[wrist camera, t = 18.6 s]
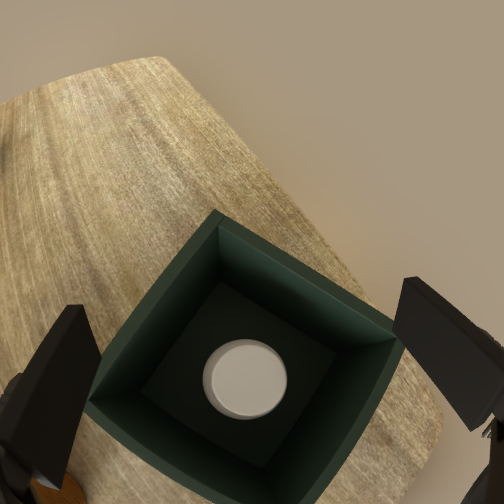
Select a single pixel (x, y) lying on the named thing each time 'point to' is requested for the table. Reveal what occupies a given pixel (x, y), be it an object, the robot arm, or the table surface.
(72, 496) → the disposable coffee cup
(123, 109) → the table surface
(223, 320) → the waste bin
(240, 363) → the pill bottle
